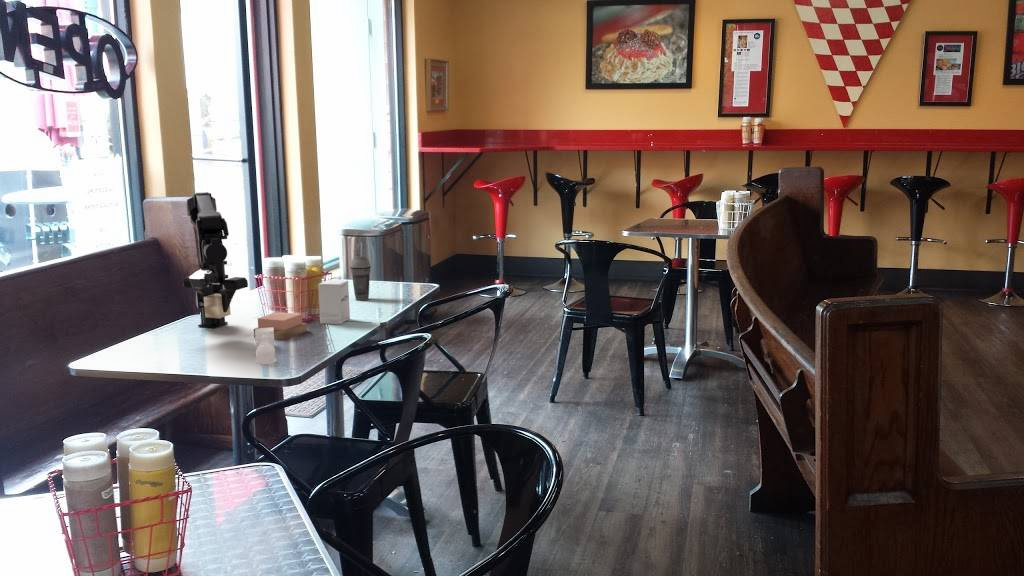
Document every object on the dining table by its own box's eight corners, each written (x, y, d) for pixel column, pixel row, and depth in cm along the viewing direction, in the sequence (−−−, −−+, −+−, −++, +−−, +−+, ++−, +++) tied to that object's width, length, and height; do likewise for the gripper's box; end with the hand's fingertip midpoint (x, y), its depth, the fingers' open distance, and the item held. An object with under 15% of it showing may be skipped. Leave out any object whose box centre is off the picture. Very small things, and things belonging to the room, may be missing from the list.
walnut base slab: (254, 338, 261) (253, 329, 261) (276, 330, 271) (275, 320, 271) (285, 341, 257) (285, 331, 257) (307, 332, 268) (306, 323, 267)
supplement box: (341, 324, 275) (339, 284, 273) (319, 323, 276) (317, 283, 274) (350, 319, 282) (348, 279, 280) (328, 318, 284) (326, 279, 281)
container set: (255, 347, 250) (254, 328, 249) (275, 345, 252) (273, 326, 251) (255, 366, 232) (254, 345, 230) (276, 364, 233) (275, 343, 232)
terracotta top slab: (258, 328, 261) (257, 318, 261) (276, 321, 270) (275, 311, 269) (284, 330, 258) (283, 320, 258) (301, 323, 266) (301, 313, 266)
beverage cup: (362, 296, 317) (359, 240, 313) (377, 298, 313) (374, 242, 309) (347, 300, 311) (344, 243, 307) (362, 302, 307) (359, 245, 303)
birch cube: (205, 317, 257) (203, 296, 256) (216, 313, 262) (215, 293, 261) (219, 318, 255) (217, 297, 254) (230, 314, 260) (229, 294, 259)
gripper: (167, 261, 251) (172, 315, 254) (221, 264, 245) (226, 319, 248) (194, 255, 262) (198, 307, 264) (247, 258, 255) (251, 311, 258)
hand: (217, 311), depth 258 cm, fingers closed on birch cube, 5 cm apart
